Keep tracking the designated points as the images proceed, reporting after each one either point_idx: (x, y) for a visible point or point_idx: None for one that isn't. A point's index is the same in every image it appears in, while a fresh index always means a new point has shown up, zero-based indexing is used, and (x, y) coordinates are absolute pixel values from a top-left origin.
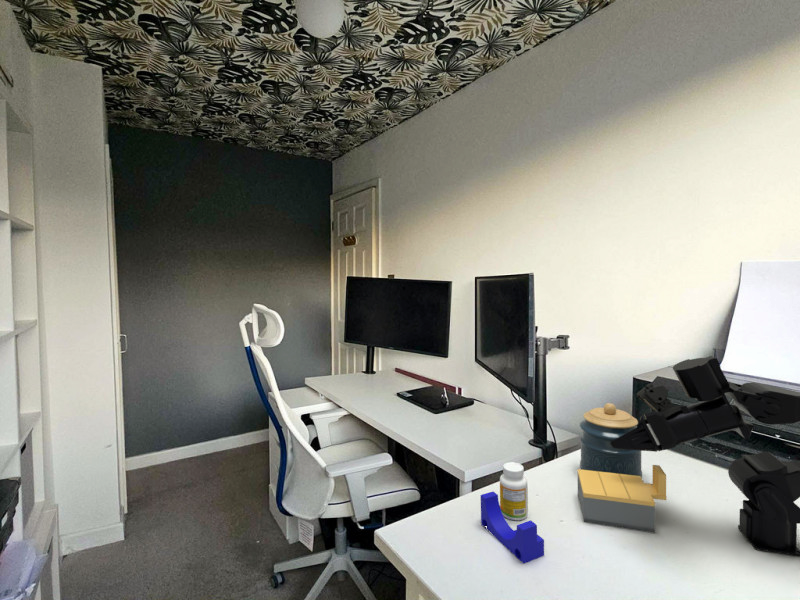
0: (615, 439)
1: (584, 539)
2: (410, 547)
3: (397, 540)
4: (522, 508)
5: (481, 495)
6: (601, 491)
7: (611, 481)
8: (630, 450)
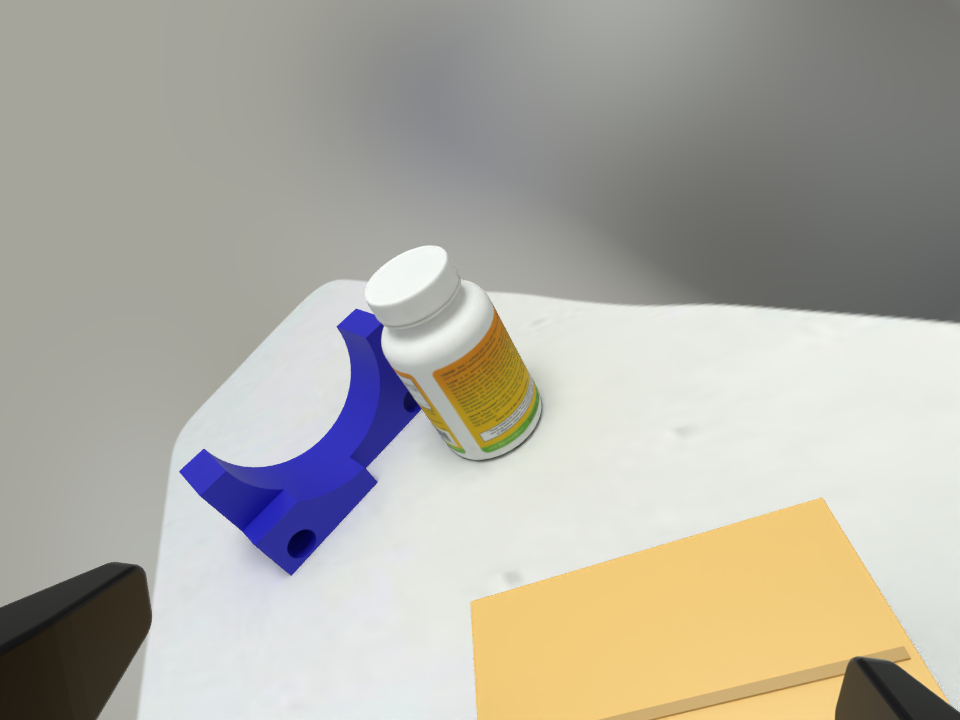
0: (27, 600)
1: (403, 699)
2: (294, 330)
3: (312, 304)
4: (438, 427)
5: (354, 311)
6: (533, 712)
7: None
8: None
